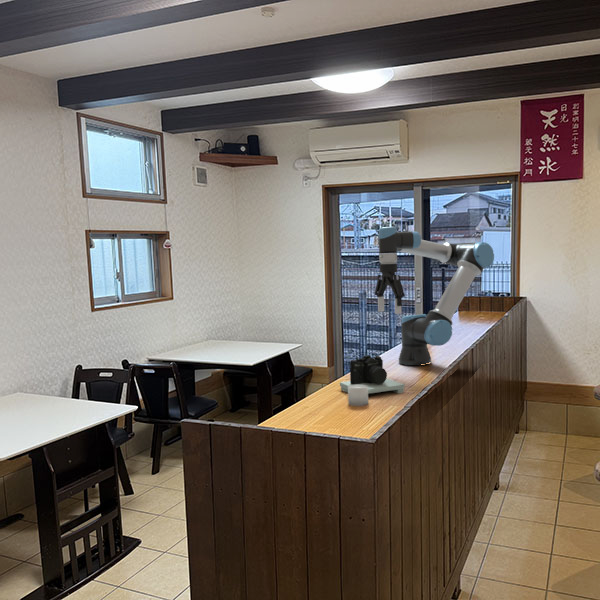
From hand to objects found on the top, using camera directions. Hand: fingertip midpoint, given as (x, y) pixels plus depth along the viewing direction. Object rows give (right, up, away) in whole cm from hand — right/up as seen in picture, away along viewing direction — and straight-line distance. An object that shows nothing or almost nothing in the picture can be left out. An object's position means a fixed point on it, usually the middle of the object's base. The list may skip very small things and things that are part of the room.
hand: (389, 312), depth 241 cm
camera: (-12, -26, -28) cm, 40 cm away
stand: (-11, -29, -28) cm, 42 cm away
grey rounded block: (-18, -31, -45) cm, 58 cm away
